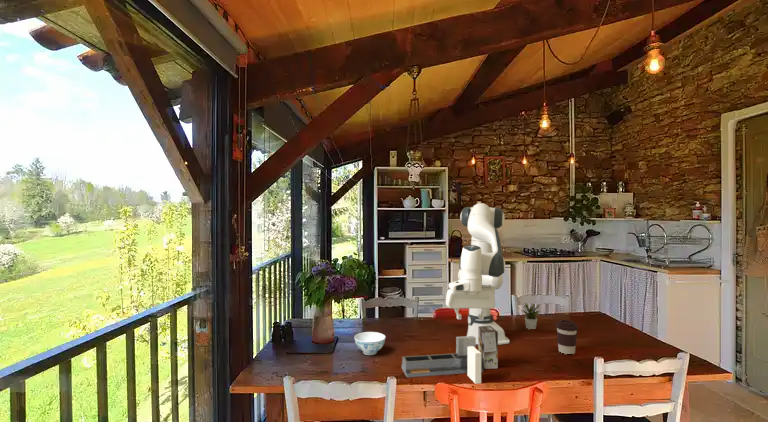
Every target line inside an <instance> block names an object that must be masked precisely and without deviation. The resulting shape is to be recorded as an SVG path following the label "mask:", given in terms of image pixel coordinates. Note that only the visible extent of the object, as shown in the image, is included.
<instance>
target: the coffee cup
mask: <svg viewBox="0 0 768 422" xmlns="http://www.w3.org/2000/svg"><path fill="white" fill-rule="evenodd" d="M555 328H556V338H557V341H556V342H557V347H558V352H559V353H560V352H561V353H560V354H562V353H564V354H563V355H567V354H573V355H575V354H576V347H577V339H578V338H577V337H578V333H577V331H579V326H578V325H577V324H576V323H575V322H574V321H572V320H567V319H561V320H558V322H556V323H555ZM574 353H575V354H574Z"/></svg>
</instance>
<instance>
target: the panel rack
mask: <svg viewBox="0 0 768 422" xmlns="http://www.w3.org/2000/svg"><path fill="white" fill-rule="evenodd" d="M455 343H456V344H455V353H442V354H440V353H439V354H438V353H437V354H425V355H422V354H421V355H406V356H405V355H404V356H402V361H401V362H402V363H401V366H400V367H401V369H402V371H403V373H404V375H405V376H406V377H405V378H415V377H416V378H417V377H431V376H442V375H443V376H444V375H457V374H458V375H461V374H467V347H468V346H474V347H475V348H476V346H477V344H476V337H474V336H467V335H465V336H464V335H463V336H455ZM476 349H477V348H476ZM481 373H484V368H483V366H482V357H481Z"/></svg>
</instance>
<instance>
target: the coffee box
mask: <svg viewBox="0 0 768 422" xmlns="http://www.w3.org/2000/svg"><path fill="white" fill-rule="evenodd" d="M477 350H478V351H479V352H481V357H482V367H483V370H487V369H488V370H489V369H495V370H496V369H498V368H499V367H498V366H499V364H498V363H499V351H498V350H499V345H498V332H497V331H496V330H495V329H494V328H492V327H491V326H478V344H477Z"/></svg>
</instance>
